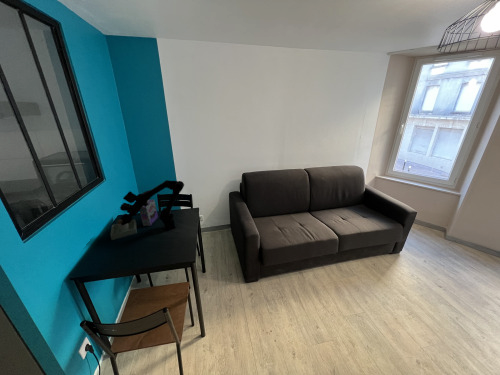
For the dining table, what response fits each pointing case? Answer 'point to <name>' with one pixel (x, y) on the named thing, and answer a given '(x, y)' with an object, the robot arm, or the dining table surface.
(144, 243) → the dining table surface
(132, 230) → the bin
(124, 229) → the jar
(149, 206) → the candy box
